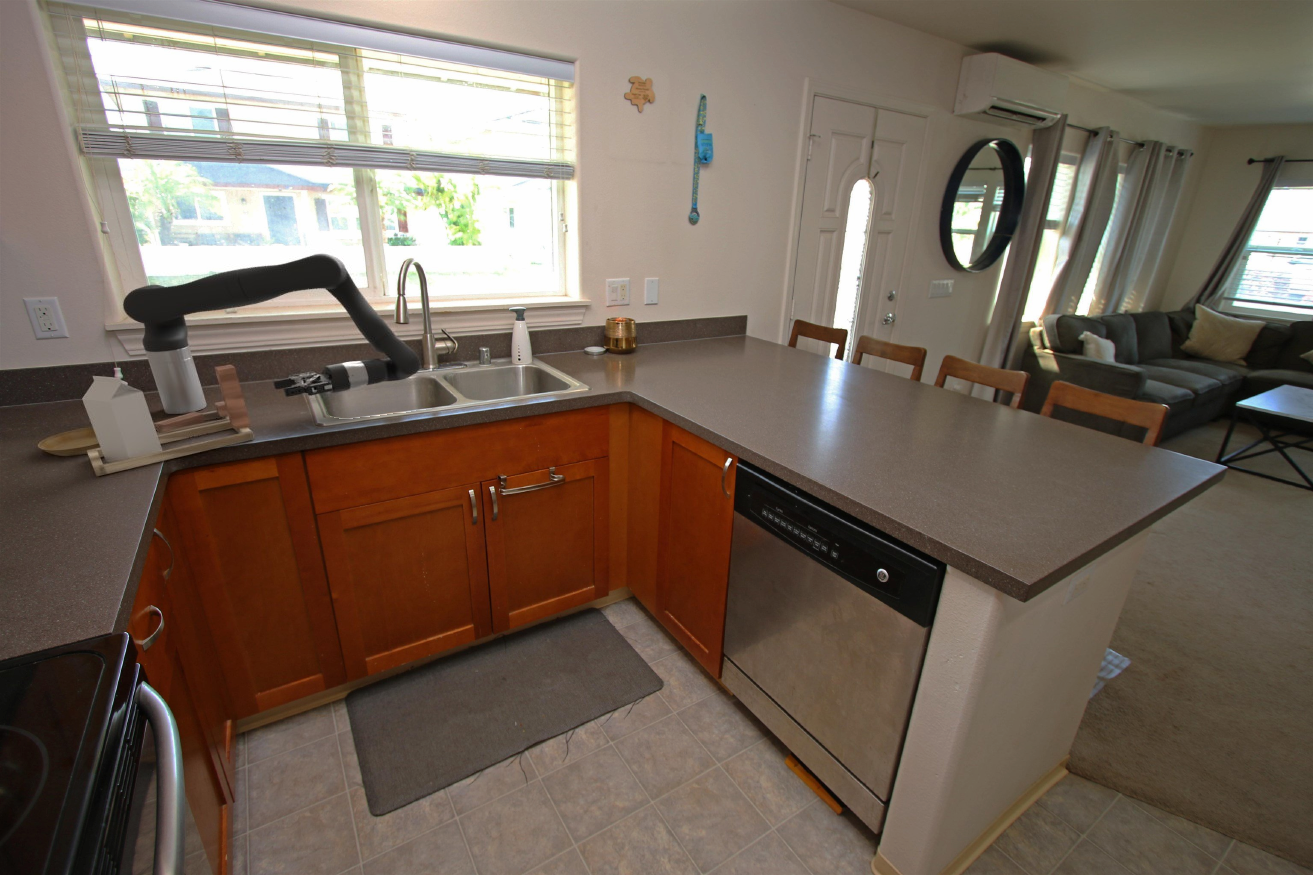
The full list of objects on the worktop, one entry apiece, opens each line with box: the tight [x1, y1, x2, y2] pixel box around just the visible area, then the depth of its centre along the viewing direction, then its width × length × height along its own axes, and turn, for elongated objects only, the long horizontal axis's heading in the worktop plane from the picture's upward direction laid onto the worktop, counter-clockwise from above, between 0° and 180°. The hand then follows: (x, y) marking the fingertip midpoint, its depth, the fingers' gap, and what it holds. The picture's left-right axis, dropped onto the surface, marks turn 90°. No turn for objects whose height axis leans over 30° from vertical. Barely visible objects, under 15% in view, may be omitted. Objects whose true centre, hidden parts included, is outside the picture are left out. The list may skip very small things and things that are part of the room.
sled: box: [86, 364, 255, 477], centre depth 133 cm, size 13×30×17 cm, turn 137°
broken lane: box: [153, 400, 229, 435], centre depth 147 cm, size 10×21×5 cm, turn 137°
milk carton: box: [81, 375, 163, 464], centre depth 128 cm, size 7×7×19 cm
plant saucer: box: [37, 426, 101, 457], centre depth 137 cm, size 15×15×3 cm
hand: (279, 389), depth 149 cm, fingers open, 8 cm apart
